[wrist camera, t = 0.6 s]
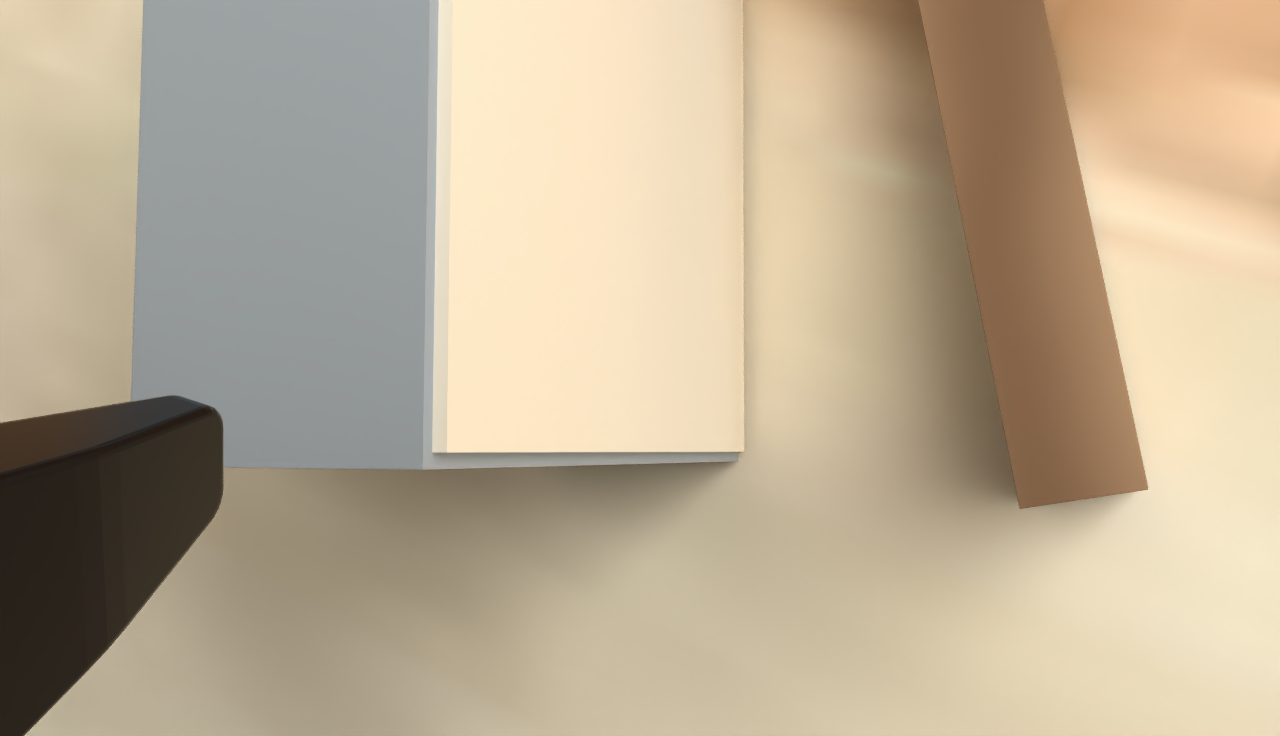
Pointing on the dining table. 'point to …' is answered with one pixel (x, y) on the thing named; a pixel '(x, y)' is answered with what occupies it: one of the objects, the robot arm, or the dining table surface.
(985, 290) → the rail
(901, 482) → the dining table surface
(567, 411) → the boxed book
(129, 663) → the dining table surface
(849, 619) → the dining table surface
